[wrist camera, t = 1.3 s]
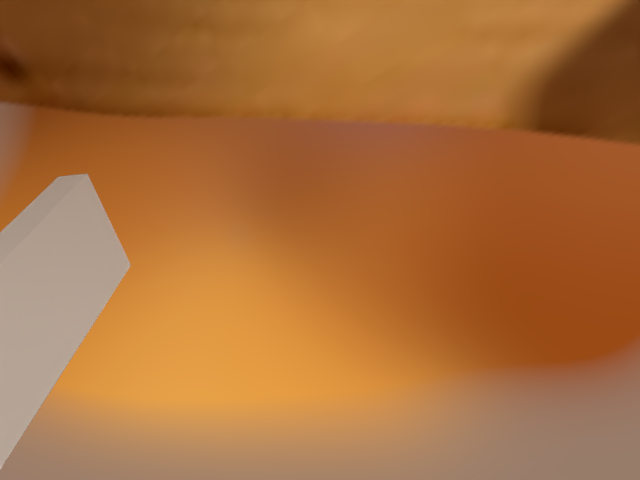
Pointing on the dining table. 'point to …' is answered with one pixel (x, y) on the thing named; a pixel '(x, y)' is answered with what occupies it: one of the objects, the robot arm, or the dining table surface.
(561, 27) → the dining table surface
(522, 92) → the dining table surface
